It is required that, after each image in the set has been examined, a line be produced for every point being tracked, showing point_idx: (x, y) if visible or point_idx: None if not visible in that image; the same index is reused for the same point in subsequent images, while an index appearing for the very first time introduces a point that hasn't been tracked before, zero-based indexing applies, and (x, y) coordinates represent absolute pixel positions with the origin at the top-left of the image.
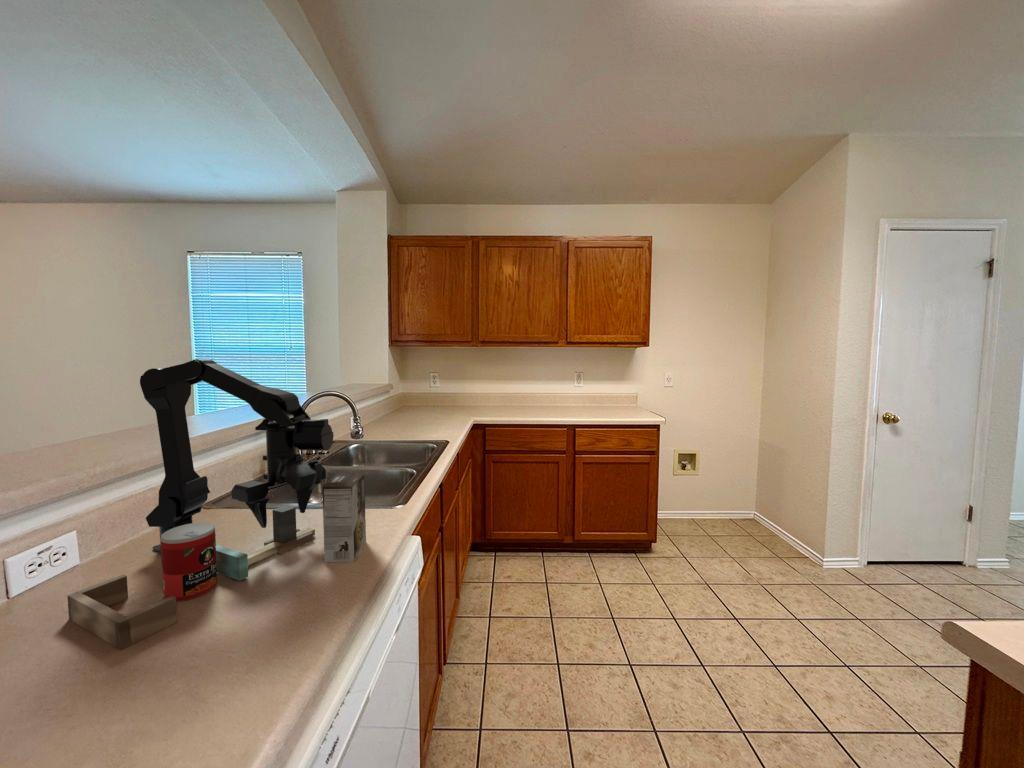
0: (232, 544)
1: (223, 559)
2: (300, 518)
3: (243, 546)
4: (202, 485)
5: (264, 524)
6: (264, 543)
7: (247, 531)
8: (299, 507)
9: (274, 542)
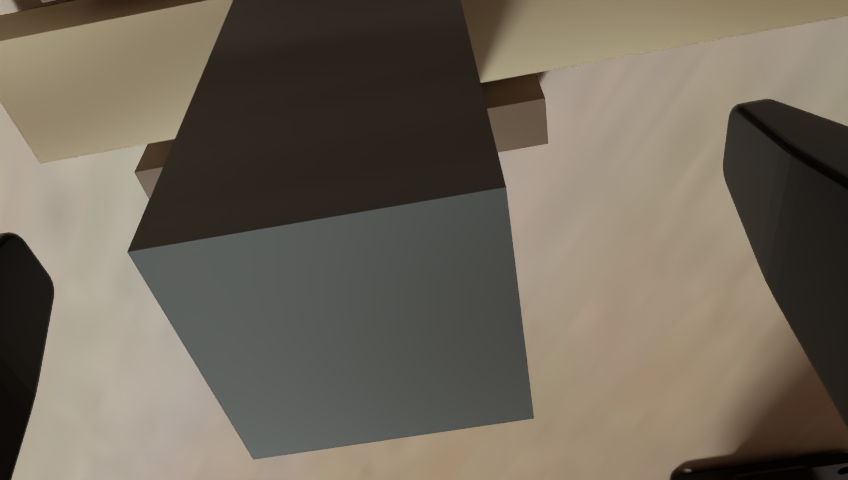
0: (591, 363)
1: None
2: (53, 434)
3: (573, 290)
4: None
5: (812, 118)
6: (543, 134)
7: (423, 461)
8: (29, 361)
9: (484, 60)
